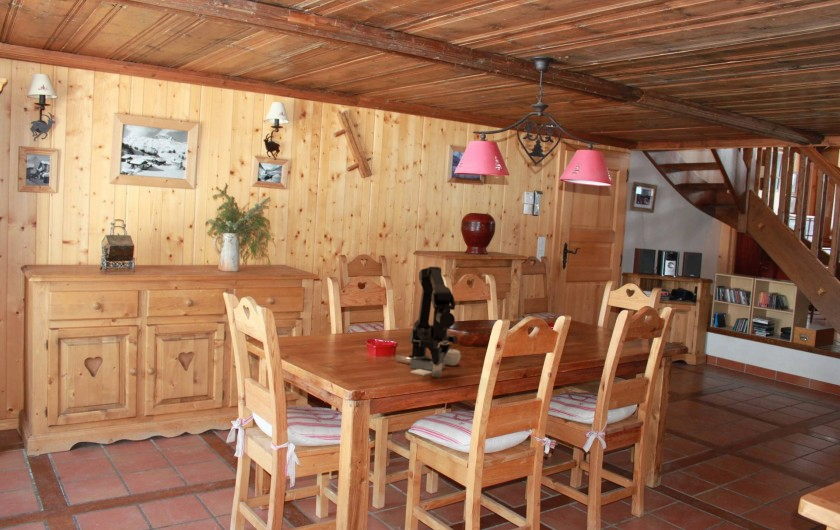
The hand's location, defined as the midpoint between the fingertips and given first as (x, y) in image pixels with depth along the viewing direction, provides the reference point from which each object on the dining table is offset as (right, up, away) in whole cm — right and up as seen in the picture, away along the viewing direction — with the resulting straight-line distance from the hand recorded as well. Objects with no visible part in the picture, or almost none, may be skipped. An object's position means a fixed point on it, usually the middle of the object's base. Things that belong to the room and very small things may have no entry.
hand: (437, 363), depth 272 cm
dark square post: (0, -5, 0) cm, 5 cm away
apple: (+6, -4, +23) cm, 24 cm away
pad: (-6, -4, +4) cm, 9 cm away
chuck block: (-8, -3, +16) cm, 18 cm away
